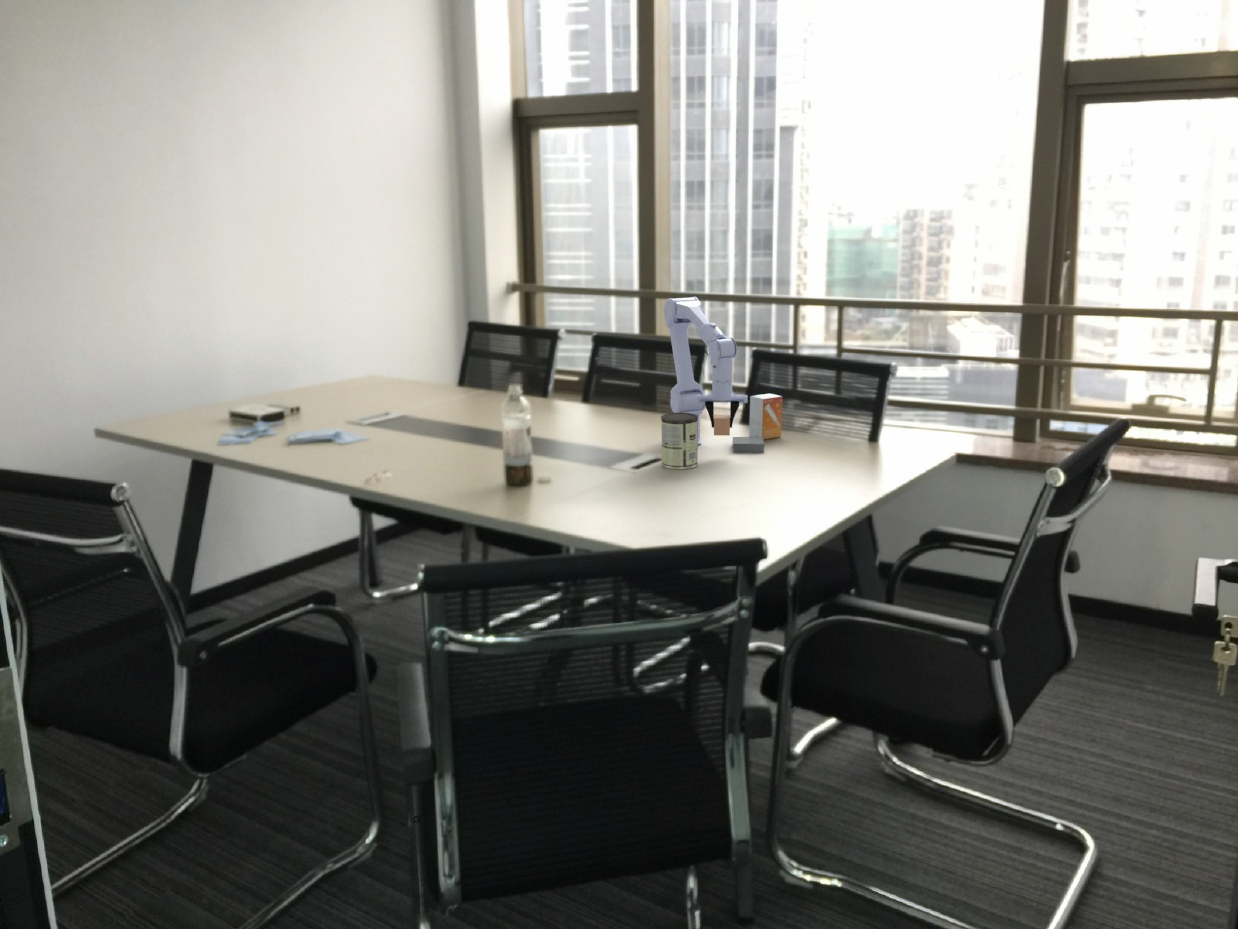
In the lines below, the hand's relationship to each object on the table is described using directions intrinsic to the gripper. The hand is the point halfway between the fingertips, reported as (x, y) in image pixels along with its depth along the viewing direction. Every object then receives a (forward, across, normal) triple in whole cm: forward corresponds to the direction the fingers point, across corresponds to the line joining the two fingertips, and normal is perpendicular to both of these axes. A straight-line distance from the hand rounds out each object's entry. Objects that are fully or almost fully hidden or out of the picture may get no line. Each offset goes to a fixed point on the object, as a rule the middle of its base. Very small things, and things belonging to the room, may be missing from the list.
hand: (721, 426), depth 310 cm
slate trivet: (+9, +8, +9) cm, 15 cm away
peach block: (+2, 0, 0) cm, 2 cm away
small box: (+9, +14, +25) cm, 30 cm away
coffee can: (+9, -12, -11) cm, 19 cm away
